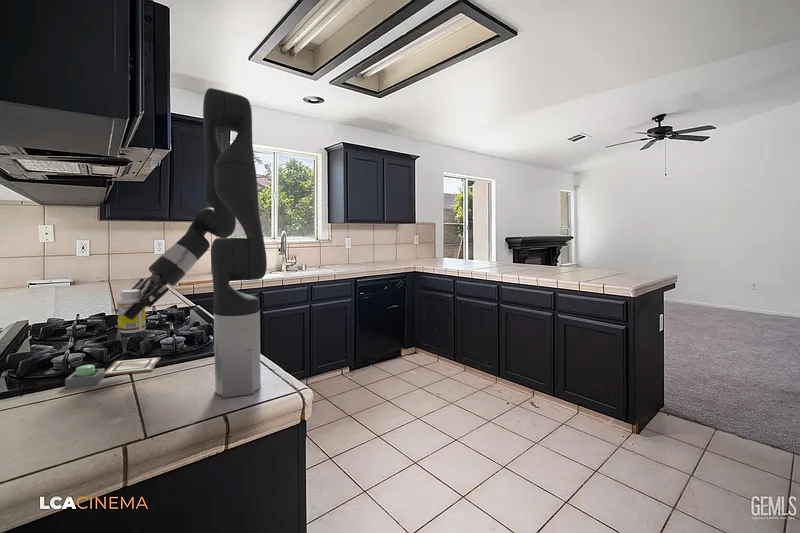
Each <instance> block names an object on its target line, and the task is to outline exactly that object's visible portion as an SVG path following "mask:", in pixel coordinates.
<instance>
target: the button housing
mask: <svg viewBox="0 0 800 533" xmlns="http://www.w3.org/2000/svg"><path fill="white" fill-rule="evenodd" d="M105 371H106V369H105V368H95V375H93V376H86V377H76V370H75V371H74V372H73V373H71V374H70V375H68V377H66V378H65V379H64V386H65V389H74V388H82V387H92V386H97V385H98V384H99V383H100V382H101V381H102V380H103V379H104V378H105V377H106V376H105Z"/></svg>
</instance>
